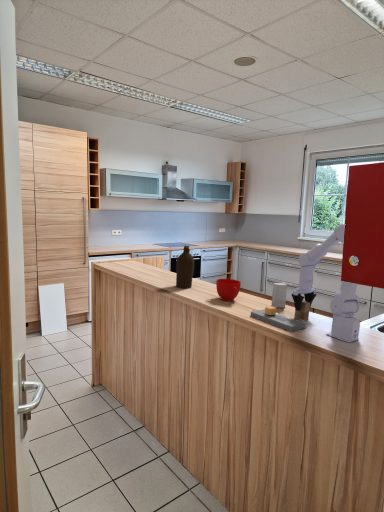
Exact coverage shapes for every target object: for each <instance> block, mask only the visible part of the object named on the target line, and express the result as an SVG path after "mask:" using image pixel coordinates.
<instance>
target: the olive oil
mask: <svg viewBox="0 0 384 512" xmlns="http://www.w3.org/2000/svg"><path fill="white" fill-rule="evenodd" d="M182 251H183V252H181V254H179V255H178V257H177V258H176V272H175V273H176V274H175V275H176V278H175V281H176V282H175V287H177V288H178V289H191V288H192V286H193V276H194V269H195V259H194V257H193V255H192V253H190V246H189V245H183V250H182Z"/></svg>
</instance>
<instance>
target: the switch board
mask: <svg viewBox="0 0 384 512" xmlns="http://www.w3.org/2000/svg"><path fill="white" fill-rule="evenodd" d="M250 317H251V318H254V319H257V320H260V321H263V322H265V323H268V324H271V325H272V326H276V327H278V328H281V329H284V330H286V331H288V332H294V331H299V330H302V329H306V328H307V322H305V321H304V322H303V321H302V320H299V319H297V318H293V317H289V316H286V315H284V314H280V313H278V312H276V314H274V315H268V314H265V308H264V309H257V310H254V311H250Z"/></svg>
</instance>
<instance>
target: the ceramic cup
mask: <svg viewBox="0 0 384 512" xmlns="http://www.w3.org/2000/svg"><path fill="white" fill-rule="evenodd" d="M215 282H216V283H215V284H216V292H217V295H218V296H219V298H220V300H222V301H225V302H231V301H234V300H235V298H237V297H238V295H239V294H240V290H241V284H242V282H241V281H240V280H237V279H232V278H218V279H216V281H215Z"/></svg>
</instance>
